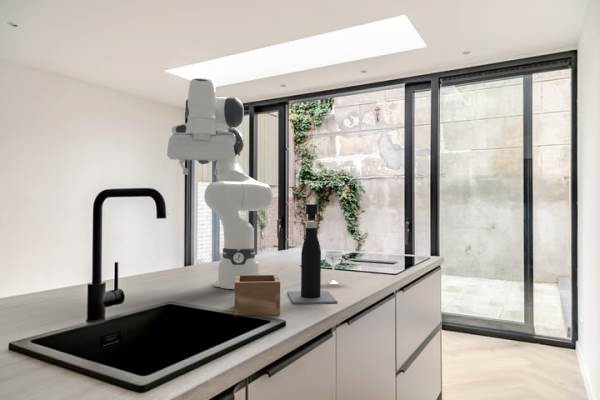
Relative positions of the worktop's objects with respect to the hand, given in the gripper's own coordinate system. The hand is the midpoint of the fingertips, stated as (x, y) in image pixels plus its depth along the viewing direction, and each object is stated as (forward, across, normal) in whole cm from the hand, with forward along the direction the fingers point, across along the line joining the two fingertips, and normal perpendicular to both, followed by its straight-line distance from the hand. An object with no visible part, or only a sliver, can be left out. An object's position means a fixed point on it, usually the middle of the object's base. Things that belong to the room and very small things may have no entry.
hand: (201, 174), depth 127 cm
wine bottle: (+39, -35, -3) cm, 53 cm away
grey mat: (+39, -36, -3) cm, 53 cm away
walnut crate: (+39, -17, +10) cm, 44 cm away
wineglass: (+39, -49, -30) cm, 70 cm away
